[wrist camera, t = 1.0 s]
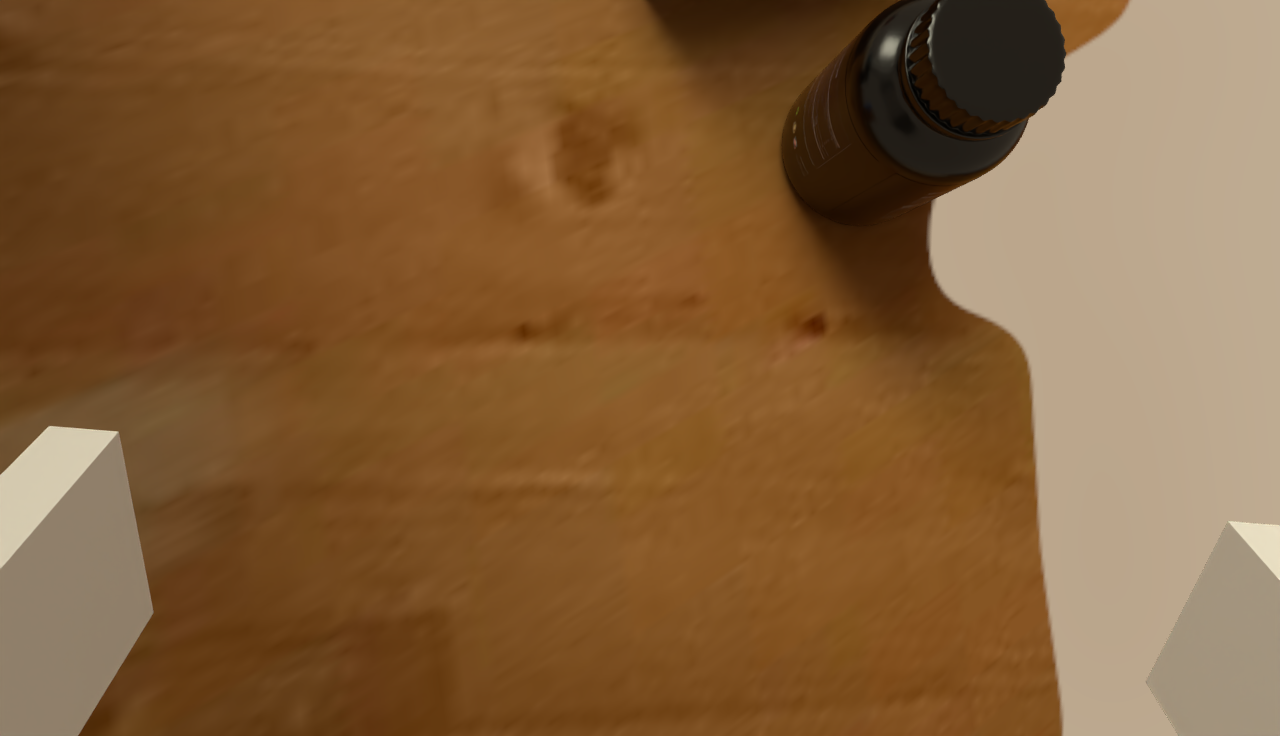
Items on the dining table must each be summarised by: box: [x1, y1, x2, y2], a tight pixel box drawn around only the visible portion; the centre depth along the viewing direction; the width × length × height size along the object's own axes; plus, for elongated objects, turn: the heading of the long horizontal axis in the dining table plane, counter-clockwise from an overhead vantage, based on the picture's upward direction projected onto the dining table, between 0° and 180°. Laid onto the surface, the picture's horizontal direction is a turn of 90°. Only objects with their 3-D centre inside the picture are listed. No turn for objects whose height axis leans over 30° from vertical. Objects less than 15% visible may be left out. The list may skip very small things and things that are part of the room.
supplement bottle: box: [782, 0, 1066, 226], centre depth 35 cm, size 7×7×12 cm
